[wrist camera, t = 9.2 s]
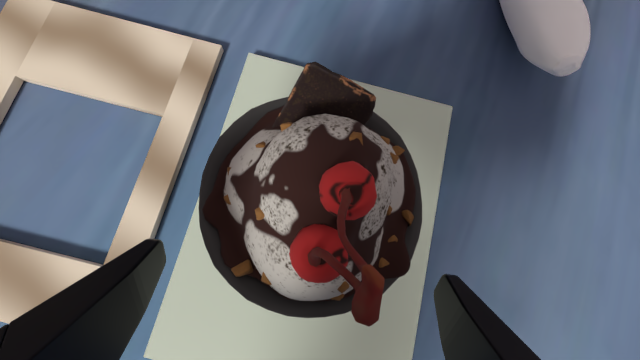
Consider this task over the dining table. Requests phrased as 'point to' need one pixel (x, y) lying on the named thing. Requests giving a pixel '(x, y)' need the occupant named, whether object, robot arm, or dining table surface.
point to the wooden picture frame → (112, 87)
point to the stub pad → (294, 332)
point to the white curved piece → (550, 32)
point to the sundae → (312, 202)
